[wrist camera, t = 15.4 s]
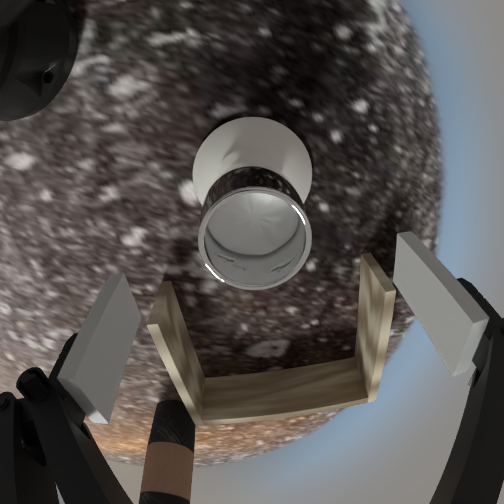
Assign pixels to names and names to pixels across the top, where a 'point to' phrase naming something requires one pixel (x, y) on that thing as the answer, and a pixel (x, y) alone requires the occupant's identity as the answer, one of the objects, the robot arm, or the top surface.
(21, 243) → the top surface
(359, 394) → the open side box
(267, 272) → the beer glass
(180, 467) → the travel mug
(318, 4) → the top surface
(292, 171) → the coaster
